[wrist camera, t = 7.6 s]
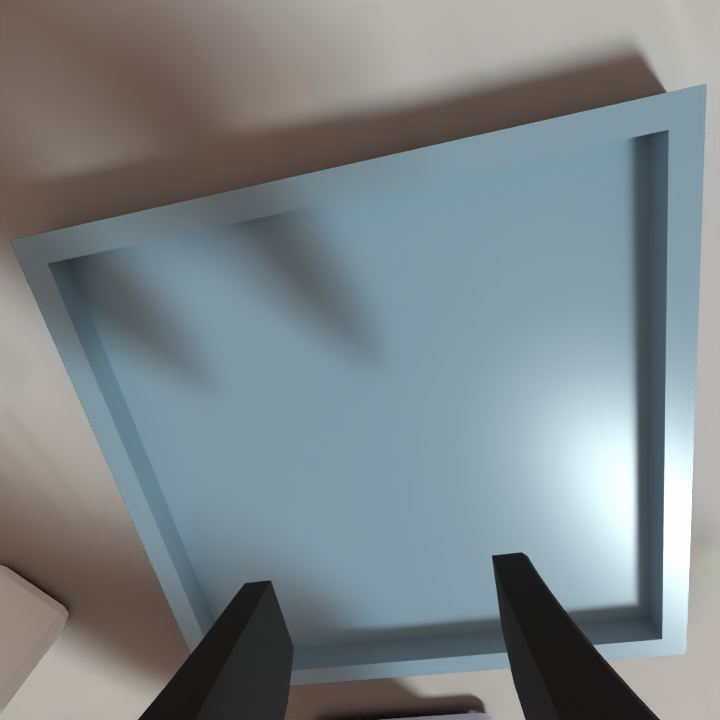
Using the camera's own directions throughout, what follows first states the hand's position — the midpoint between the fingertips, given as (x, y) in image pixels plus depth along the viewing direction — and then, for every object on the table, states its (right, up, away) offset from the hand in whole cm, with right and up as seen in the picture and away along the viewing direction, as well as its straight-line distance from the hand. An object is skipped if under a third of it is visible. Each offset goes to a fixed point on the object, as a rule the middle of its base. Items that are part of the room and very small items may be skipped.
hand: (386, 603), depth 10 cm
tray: (0, +2, +6) cm, 6 cm away
